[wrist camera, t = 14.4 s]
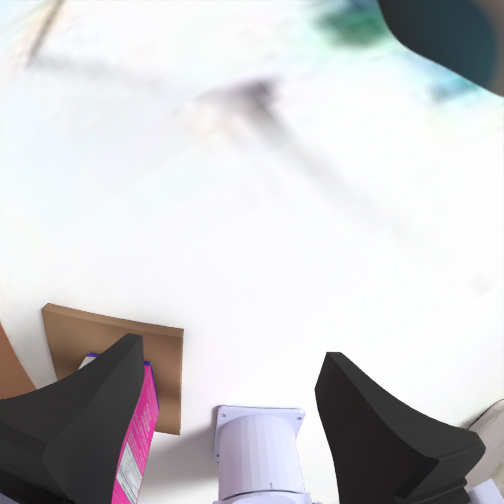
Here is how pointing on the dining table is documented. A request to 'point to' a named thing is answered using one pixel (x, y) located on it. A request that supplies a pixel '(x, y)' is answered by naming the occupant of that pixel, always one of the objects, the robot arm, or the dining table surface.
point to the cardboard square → (105, 335)
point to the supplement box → (135, 440)
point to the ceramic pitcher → (490, 449)
